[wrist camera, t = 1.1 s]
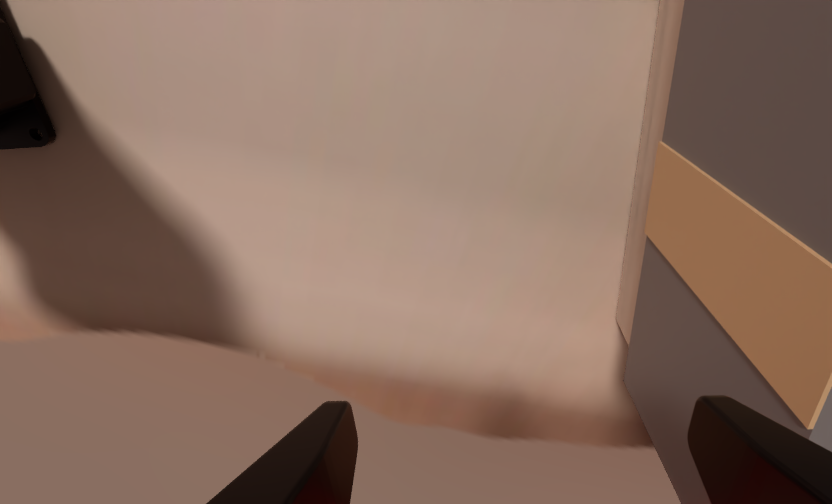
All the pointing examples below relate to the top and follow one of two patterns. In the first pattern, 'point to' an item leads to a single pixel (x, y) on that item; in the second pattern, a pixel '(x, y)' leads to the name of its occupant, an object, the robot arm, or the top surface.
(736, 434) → the robot arm
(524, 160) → the top surface
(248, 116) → the top surface
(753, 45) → the flap lid
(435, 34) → the top surface
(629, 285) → the storage box
